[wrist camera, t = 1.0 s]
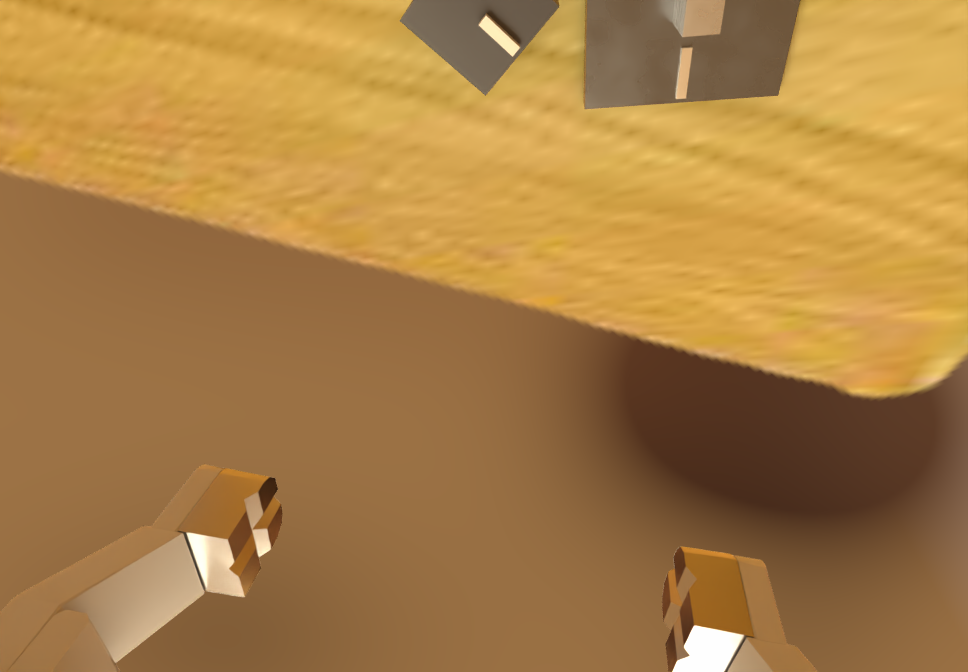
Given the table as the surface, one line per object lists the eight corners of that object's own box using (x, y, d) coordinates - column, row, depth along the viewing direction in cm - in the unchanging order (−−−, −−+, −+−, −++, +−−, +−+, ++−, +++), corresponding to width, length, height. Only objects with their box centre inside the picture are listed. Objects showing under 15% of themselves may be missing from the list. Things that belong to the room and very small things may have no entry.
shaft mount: (588, -126, 31) (594, -120, 28) (827, -153, 30) (860, -149, 27) (583, 103, 39) (588, 127, 36) (773, 89, 38) (794, 113, 35)
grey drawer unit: (413, -2, 35) (398, 23, 31) (476, -96, 32) (468, -83, 28) (489, 66, 38) (485, 98, 34) (555, -15, 35) (559, 8, 30)
